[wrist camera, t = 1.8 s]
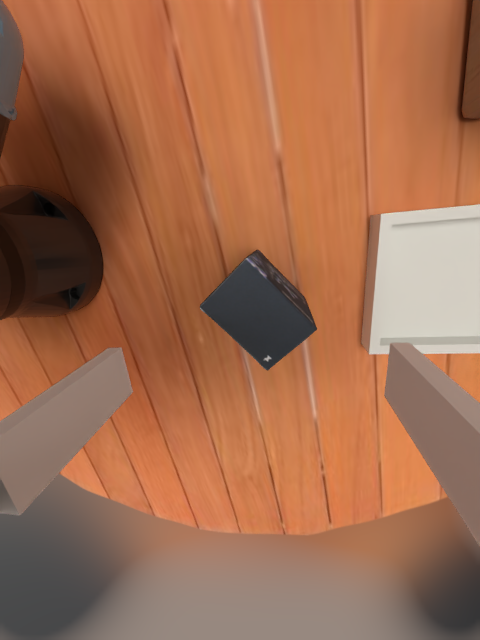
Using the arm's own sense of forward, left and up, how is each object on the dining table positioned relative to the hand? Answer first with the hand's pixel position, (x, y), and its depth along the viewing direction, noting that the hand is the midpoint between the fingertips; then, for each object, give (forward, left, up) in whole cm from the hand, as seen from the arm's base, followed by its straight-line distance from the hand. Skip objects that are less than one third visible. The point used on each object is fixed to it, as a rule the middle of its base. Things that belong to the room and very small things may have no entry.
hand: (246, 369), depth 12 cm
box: (0, 0, -18) cm, 18 cm away
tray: (+20, 0, -18) cm, 27 cm away
